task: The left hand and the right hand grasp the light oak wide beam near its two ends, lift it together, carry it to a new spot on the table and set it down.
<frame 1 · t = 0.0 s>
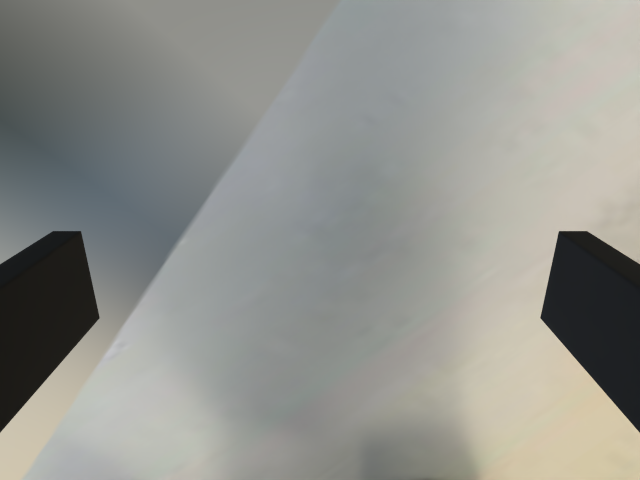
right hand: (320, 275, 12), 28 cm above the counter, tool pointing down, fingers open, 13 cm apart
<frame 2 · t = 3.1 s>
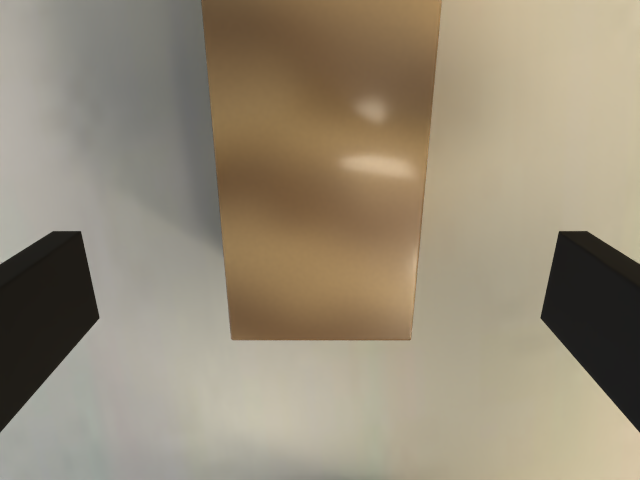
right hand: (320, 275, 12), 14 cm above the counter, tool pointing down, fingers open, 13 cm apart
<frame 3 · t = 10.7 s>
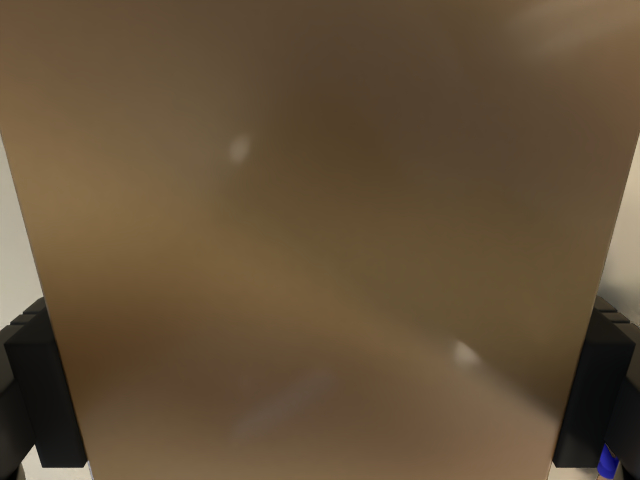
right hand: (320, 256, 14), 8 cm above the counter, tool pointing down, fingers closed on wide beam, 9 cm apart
figurine character: (625, 401, 26), on the counter
when the left hand's fingers open (2 cm above the counter, at t = 12.3 s): wide beam stays where it is, on the counter.
when the right hand's fingers open (2 cm above the counter, at t = 12.3 s): wide beam stays where it is, on the counter.
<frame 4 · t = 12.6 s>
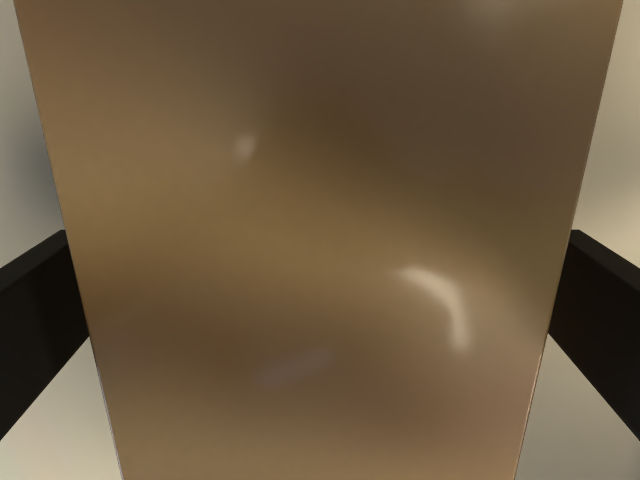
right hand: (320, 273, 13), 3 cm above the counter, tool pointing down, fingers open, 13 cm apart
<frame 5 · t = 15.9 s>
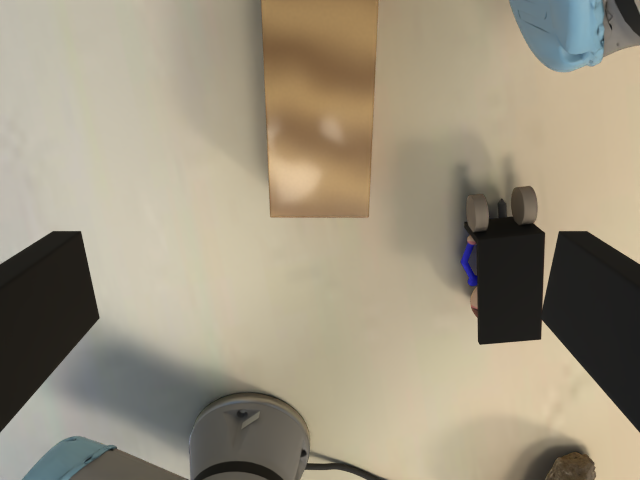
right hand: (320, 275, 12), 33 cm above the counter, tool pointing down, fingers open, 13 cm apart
figurine character: (485, 248, 48), on the counter
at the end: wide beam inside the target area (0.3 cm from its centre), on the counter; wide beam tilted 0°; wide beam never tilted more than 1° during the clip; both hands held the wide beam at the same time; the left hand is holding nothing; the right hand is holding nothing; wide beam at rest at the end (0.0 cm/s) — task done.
